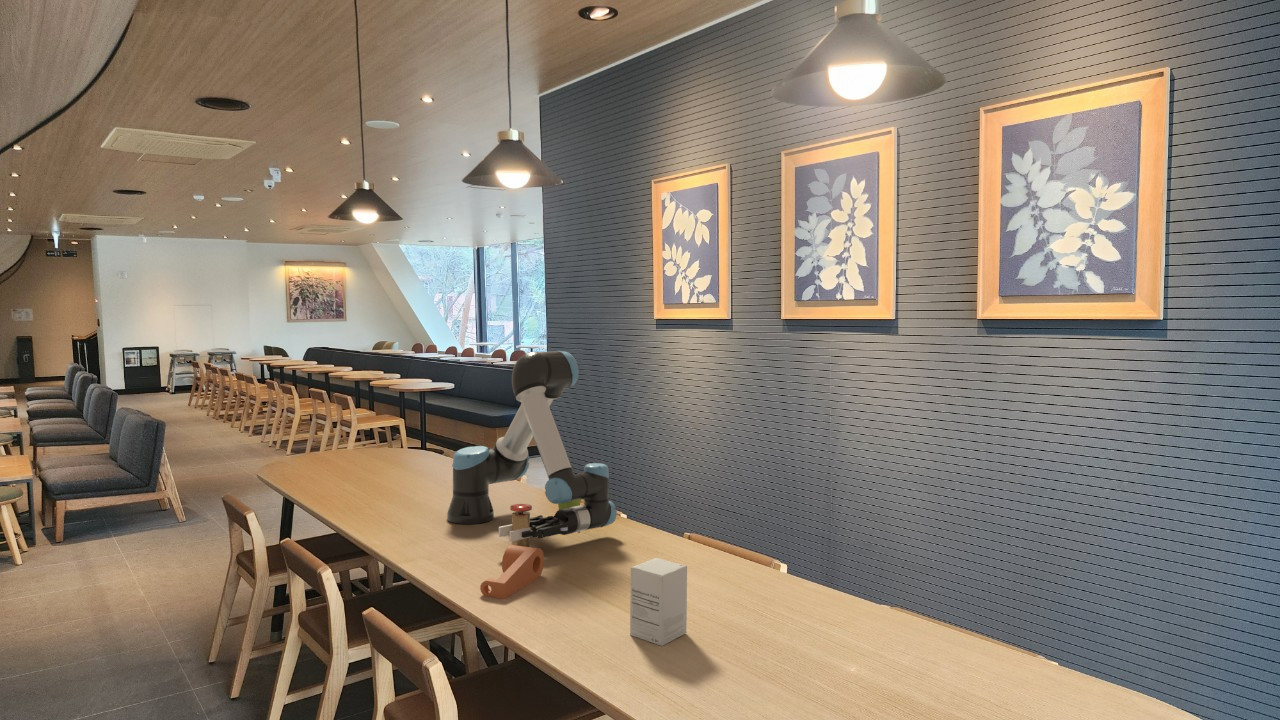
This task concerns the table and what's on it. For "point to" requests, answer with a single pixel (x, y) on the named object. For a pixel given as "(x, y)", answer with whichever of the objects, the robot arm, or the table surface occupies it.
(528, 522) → the valve
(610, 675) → the table surface
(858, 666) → the table surface
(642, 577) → the supplement box
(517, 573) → the orange holed part
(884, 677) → the table surface
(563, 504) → the plant pot
